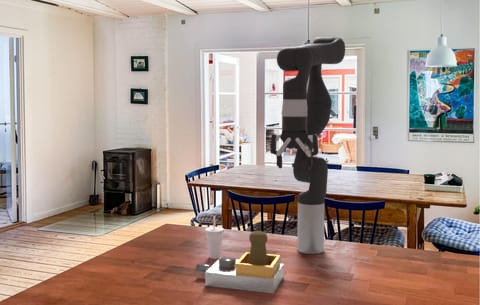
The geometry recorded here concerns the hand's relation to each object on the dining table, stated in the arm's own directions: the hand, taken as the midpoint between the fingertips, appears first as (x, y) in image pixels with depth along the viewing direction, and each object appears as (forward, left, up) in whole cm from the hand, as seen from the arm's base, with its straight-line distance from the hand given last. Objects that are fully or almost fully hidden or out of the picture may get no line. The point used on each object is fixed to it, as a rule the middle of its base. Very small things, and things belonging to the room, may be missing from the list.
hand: (294, 168), depth 146 cm
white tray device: (+12, -15, -32) cm, 37 cm away
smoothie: (-6, -28, -32) cm, 43 cm away
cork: (+12, -8, -28) cm, 32 cm away
